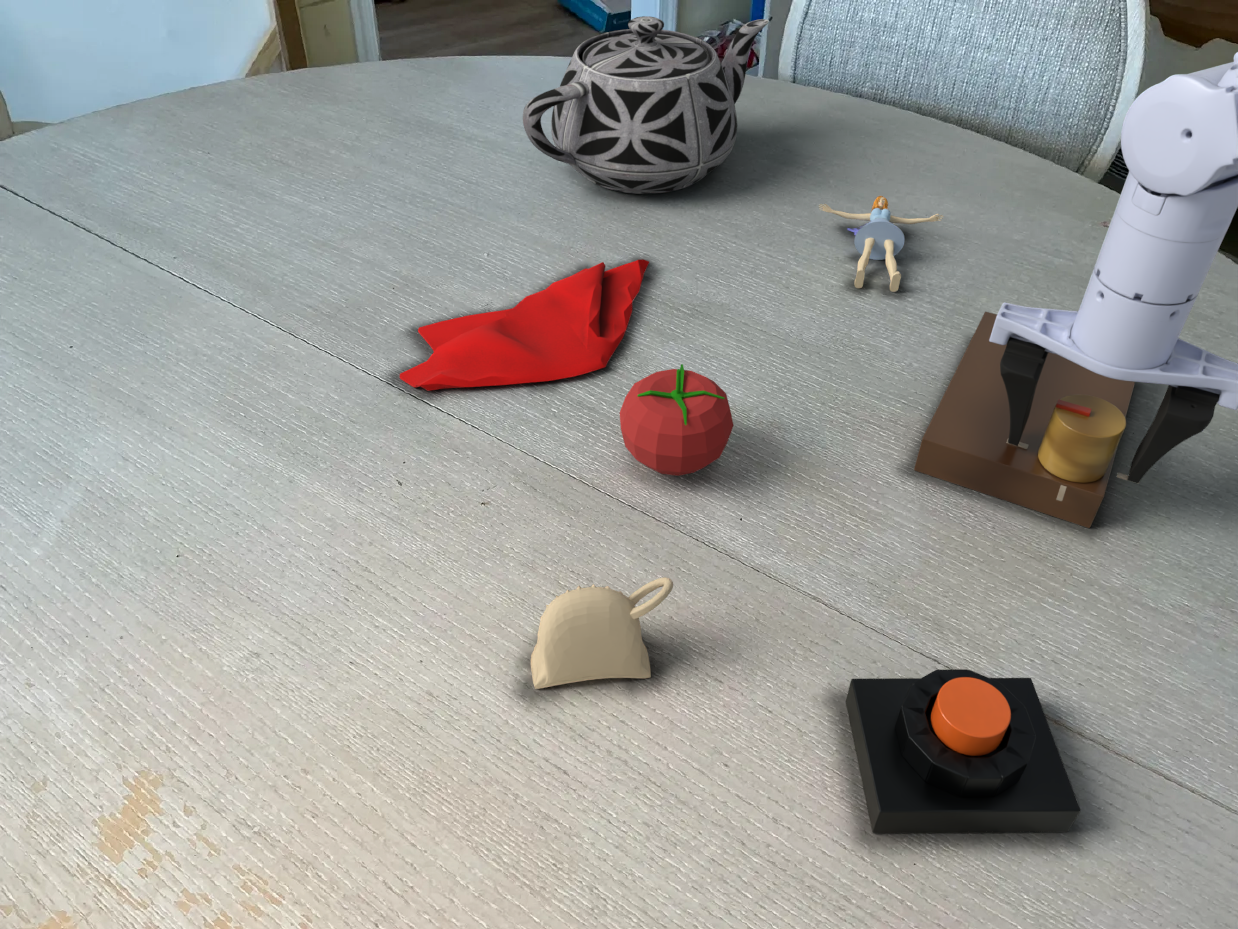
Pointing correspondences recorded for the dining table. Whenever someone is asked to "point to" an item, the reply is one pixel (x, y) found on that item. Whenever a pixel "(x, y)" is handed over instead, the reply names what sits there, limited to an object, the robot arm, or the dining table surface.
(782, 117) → the dining table surface
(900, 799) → the button box
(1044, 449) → the knob
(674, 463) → the tomato
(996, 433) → the knob panel
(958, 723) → the button
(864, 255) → the fairy figurine
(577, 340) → the cloth
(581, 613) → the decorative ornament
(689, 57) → the teapot
